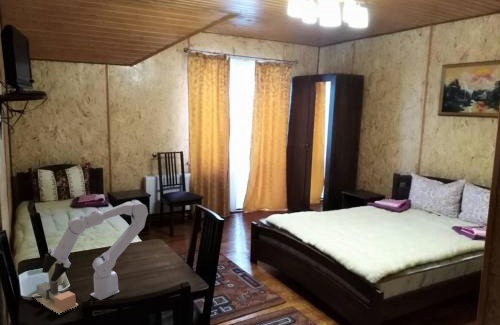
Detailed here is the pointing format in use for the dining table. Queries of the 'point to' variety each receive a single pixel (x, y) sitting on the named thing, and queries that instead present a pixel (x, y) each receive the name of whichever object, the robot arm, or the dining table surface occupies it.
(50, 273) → the skincare box
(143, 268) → the dining table surface
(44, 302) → the birch board
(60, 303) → the socket block
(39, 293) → the grey sleeve
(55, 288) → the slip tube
